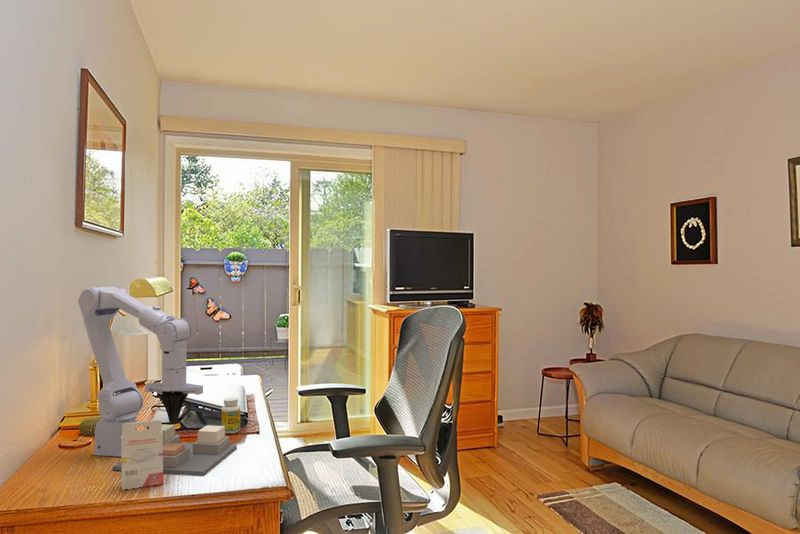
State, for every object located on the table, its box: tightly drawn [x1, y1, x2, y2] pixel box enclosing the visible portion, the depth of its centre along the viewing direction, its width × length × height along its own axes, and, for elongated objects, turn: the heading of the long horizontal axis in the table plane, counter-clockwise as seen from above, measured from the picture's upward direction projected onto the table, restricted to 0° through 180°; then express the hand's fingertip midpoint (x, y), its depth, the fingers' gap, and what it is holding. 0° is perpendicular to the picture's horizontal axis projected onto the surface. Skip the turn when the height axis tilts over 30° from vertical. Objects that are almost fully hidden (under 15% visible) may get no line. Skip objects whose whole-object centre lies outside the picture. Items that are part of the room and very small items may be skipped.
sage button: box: [162, 424, 176, 443], centre depth 148 cm, size 5×5×4 cm
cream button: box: [197, 424, 226, 444], centre depth 147 cm, size 5×5×4 cm
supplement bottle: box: [221, 397, 241, 434], centre depth 166 cm, size 5×5×10 cm
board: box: [112, 434, 238, 477], centre depth 143 cm, size 23×19×4 cm
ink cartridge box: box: [120, 419, 164, 491], centre depth 127 cm, size 9×5×15 cm, turn 114°
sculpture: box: [78, 416, 102, 436], centre depth 164 cm, size 8×4×8 cm
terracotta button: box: [163, 443, 185, 456], centre depth 138 cm, size 5×5×4 cm
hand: (173, 421), depth 142 cm, fingers closed
